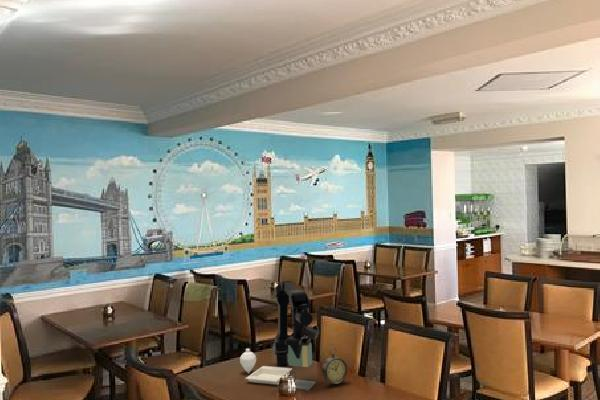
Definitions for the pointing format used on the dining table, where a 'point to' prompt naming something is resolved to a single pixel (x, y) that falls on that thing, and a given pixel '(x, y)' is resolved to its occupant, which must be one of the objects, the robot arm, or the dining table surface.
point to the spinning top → (248, 360)
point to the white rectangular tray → (268, 374)
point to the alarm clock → (334, 369)
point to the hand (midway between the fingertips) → (300, 356)
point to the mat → (304, 384)
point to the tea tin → (301, 355)
